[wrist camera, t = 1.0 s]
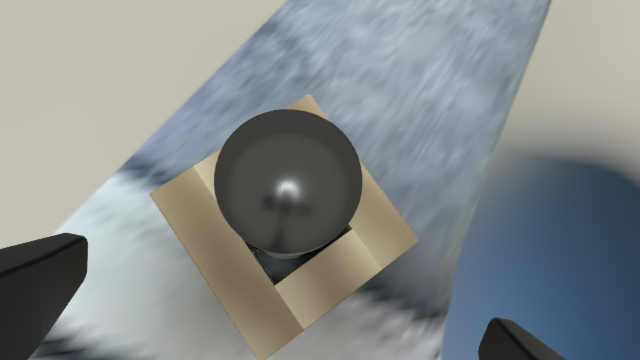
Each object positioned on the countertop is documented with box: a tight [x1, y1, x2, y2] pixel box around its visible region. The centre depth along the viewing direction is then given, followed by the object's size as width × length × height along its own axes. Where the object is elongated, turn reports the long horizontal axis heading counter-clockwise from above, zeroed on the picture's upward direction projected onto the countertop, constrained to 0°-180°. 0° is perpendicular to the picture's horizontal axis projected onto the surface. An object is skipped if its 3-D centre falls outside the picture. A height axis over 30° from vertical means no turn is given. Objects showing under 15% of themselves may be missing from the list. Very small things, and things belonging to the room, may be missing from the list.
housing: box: [149, 94, 420, 360], centre depth 24 cm, size 11×11×4 cm
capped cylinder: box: [214, 109, 363, 259], centre depth 20 cm, size 5×5×13 cm
